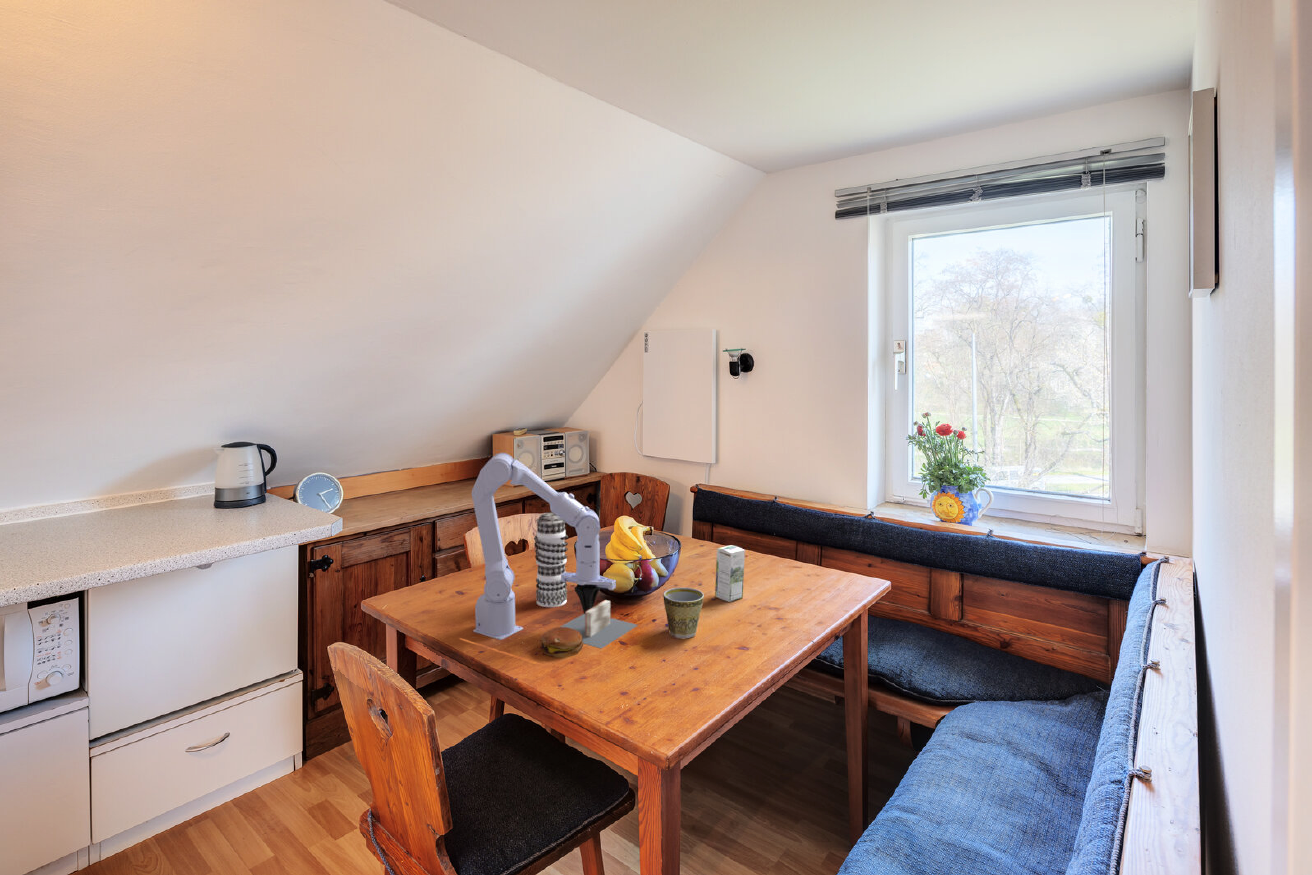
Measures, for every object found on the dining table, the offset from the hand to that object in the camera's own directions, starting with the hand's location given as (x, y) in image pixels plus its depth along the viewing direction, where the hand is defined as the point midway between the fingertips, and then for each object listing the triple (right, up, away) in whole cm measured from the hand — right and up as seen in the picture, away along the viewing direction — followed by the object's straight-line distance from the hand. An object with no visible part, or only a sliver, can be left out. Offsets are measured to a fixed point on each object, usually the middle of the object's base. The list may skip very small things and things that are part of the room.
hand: (588, 612), depth 167 cm
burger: (-5, -6, -12) cm, 14 cm away
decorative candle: (-12, -2, +18) cm, 22 cm away
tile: (+3, -4, -1) cm, 5 cm away
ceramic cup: (+24, -5, 0) cm, 24 cm away
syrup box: (+38, -2, +23) cm, 44 cm away
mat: (+2, -4, 0) cm, 5 cm away
